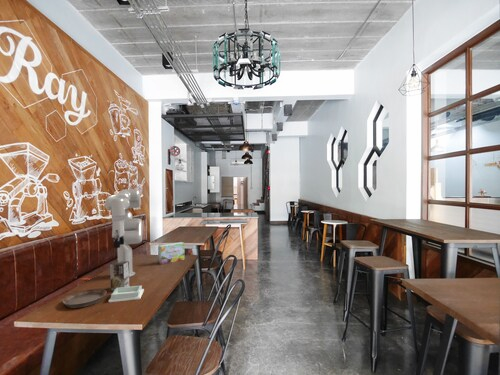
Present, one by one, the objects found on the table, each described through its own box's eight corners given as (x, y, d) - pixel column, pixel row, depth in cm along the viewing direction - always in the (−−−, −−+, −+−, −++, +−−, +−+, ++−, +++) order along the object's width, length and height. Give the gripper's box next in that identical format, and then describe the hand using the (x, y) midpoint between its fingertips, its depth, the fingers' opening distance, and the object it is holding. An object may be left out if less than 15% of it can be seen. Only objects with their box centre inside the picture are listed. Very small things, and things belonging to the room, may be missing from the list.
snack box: (160, 265, 217) (160, 246, 217) (158, 263, 221) (157, 245, 221) (184, 260, 231) (184, 242, 231) (181, 258, 235) (181, 241, 235)
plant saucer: (52, 309, 140) (52, 303, 140) (82, 293, 160) (82, 288, 160) (88, 310, 137) (88, 304, 137) (114, 294, 157) (114, 289, 157)
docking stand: (115, 293, 159) (115, 287, 159) (143, 290, 162) (143, 284, 162) (108, 302, 146) (108, 296, 146) (139, 299, 150) (139, 292, 150)
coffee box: (130, 286, 169) (129, 261, 169) (124, 290, 163) (123, 264, 163) (116, 286, 170) (115, 261, 170) (110, 290, 164) (109, 264, 164)
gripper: (115, 217, 174) (116, 243, 174) (107, 220, 157) (108, 249, 157) (128, 216, 176) (128, 243, 176) (121, 219, 159) (122, 248, 159)
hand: (119, 246), depth 166 cm, fingers open, 9 cm apart
